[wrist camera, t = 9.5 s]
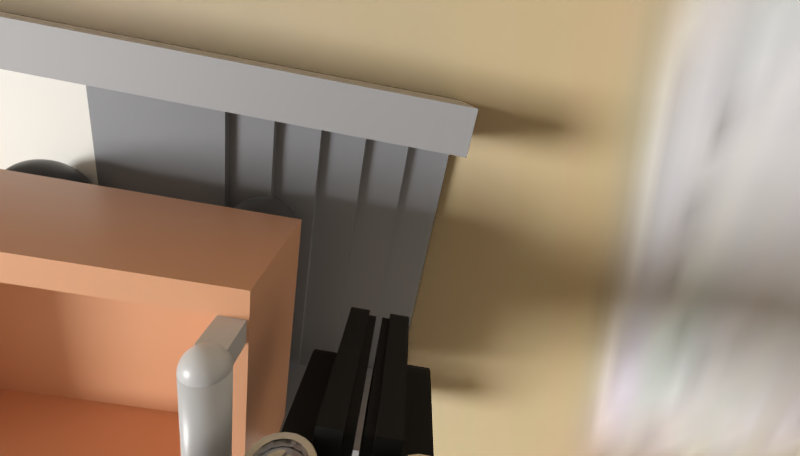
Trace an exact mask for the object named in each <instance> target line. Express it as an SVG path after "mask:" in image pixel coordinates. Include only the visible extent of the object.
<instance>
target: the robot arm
mask: <svg viewBox="0 0 800 456" xmlns="http://www.w3.org/2000/svg"><path fill="white" fill-rule="evenodd" d="M369 314H370V310H367V309H361V308H355V307H351V310H350V313H349V316H348V320H347V323H346V326H345V330H344V333H343V336H342V339H341V343H340V346H339V349H338V353H336V352H330V351H324V350H318V349H315V350H314V351H313V353H312V355H311V358H310V360H309V363H308V365H307V368H306V370H305V373H304V375H303V378H302V380H301V383H300V385H299V388H298V390H297V393H296V395H295V398H294V401H293V403H292V406H291V408H290V411H289V413H288V416H287V418H286V421H285V423H284V426H283V428H282V431H281V433H274V434H271V435H268V436H266V437H263V438H262V439H260V440H259V441H258V442H256V443H255V444H253V445H252V447H251V448H250V449H249V450H248V451H247V452H246V454H245V455H244V456H352V453H353V447H354V442H355V436H356V431H357V425H358V419H359V414H360V408H361V403H362V397H363V392H364V386H365V380H366V374H367V368H368V363H369V357H370V351H371V345H372V340H373V334H374V328H375V322H376V316H372V315H369ZM408 333H409V317H408V316H402V315H396V314H390V318H383V317H382V322H381V328H380V333H379V339H378V344H377V350H376V355H375V361H374V366H373V372H372V378H371V383H370V389H369V395H368V400H367V407H366V413H365V419H364V425H363V431H362V437H361V443H360V450H359V456H434V455H433V430H432V405H431V379H430V369H429V368H424V367H418V366H412V365H407V357H408Z"/></svg>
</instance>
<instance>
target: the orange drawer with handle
mask: <svg viewBox="0 0 800 456" xmlns="http://www.w3.org/2000/svg"><path fill="white" fill-rule="evenodd" d="M301 222H302V220H301V219H297V217H296V215H295V214H294V212H293V211H292V210H291V209H290V208H289V207H288V206H287V205H286V204H285V203H283V202H281V201H279V200H277V199H274V198H270V197H254V198H250V199H247V200H245V201H243V202H241V203H240V204H238V205H237V206H236V207H235V208H230V207H224V206H218V205H212V204H206V203H200V202H194V201H188V200H182V199H176V198H171V197H165V196H159V195H153V194H147V193H141V192H135V191H129V190H123V189H117V188H111V187H105V186H99V185H93V184H90V183H89V182H88V180H87V179H86V178H85V177H84V176H83V175H82V174H81V173H80V172H79V171H78V170H76V169H74V168H73V167H71V166H69V165H67V164H64V163H61V162H58V161H54V160H47V159H33V160H26V161H22V162H19V163H16V164H14V165H12V166H10V167H8V168H7V169H5V170H4V169H0V456H244V455H245V454H246V452H247V451H248V450H249V449H250V448H251V447H252V445H253V444H255V443H256V442H258V441H259V440H260V439H262V438H263V437H266V436H268V435H271V434H274V433H279V431H280V428H281V425H282V423H283V420H284V417H285V407H286V395H287V384H288V372H289V360H290V349H291V337H292V326H293V314H294V303H295V291H296V280H297V268H298V256H299V245H300V233H301Z"/></svg>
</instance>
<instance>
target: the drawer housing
mask: <svg viewBox="0 0 800 456" xmlns="http://www.w3.org/2000/svg"><path fill="white" fill-rule="evenodd" d="M477 113H478V108H476V107H473V106H471V105H469V104H467V103H465V102H463V101H461V100H456V99H451V98H446V97H441V96H435V95H430V94H425V93H420V92H415V91H409V90H404V89H399V88H394V87H389V86H384V85H378V84H373V83H368V82H363V81H358V80H353V79H347V78H342V77H337V76H332V75H327V74H321V73H316V72H311V71H306V70H301V69H296V68H290V67H285V66H280V65H275V64H270V63H264V62H259V61H254V60H249V59H244V58H239V57H233V56H228V55H223V54H218V53H213V52H208V51H202V50H197V49H192V48H187V47H182V46H176V45H171V44H166V43H161V42H156V41H151V40H145V39H140V38H135V37H130V36H125V35H119V34H114V33H109V32H104V31H99V30H94V29H88V28H83V27H78V26H73V25H68V24H62V23H57V22H52V21H47V20H42V19H37V18H31V17H26V16H21V15H16V14H11V13H6V12H0V169H4V170H5V169H7V168H8V167H10V166H12V165H14V164H16V163H19V162H22V161H26V160H33V159H47V160H54V161H58V162H61V163H64V164H67V165H69V166H71V167H73V168H74V169H76V170H78V171H79V172H80V173H81V174H82V175H83V176H84V177H85V178H86V179H87V180H88V182H89V183H90V184H93V185H99V186H105V187H111V188H117V189H123V190H129V191H135V192H141V193H147V194H153V195H159V196H165V197H171V198H176V199H182V200H188V201H194V202H200V203H206V204H212V205H218V206H224V207H230V208H235V207H236V206H237V205H238V204H240V203H241V202H243V201H245V200H247V199H250V198H254V197H270V198H274V199H277V200H279V201H281V202H283V203H285V204H286V205H287V206H288V207H289V208H290V209H291V210H292V211H293V212H294V214H295V215H296V217H297V219H301V220H302V222H301V233H300V245H299V256H298V268H297V280H296V291H295V303H294V314H293V326H292V337H291V349H290V360H289V372H288V384H287V395H286V407H285V417H284V420H283V423H282V425H281V428H280V431H279V433H281V431H282V428H283V426H284V423H285V421H286V418H287V416H288V413H289V411H290V408H291V406H292V403H293V401H294V398H295V395H296V393H297V390H298V388H299V385H300V383H301V380H302V378H303V375H304V373H305V370H306V368H307V365H308V363H309V360H310V358H311V355H312V353H313V351H314V350H315V349H318V350H324V351H330V352H336V353H338V349H339V346H340V343H341V339H342V336H343V333H344V330H345V326H346V323H347V320H348V316H349V313H350V310H351V307H355V308H361V309H367V310H370V314H369V315H372V316H376V322H375V328H374V334H373V340H372V345H371V351H370V357H369V363H368V368H367V374H366V380H365V386H364V392H363V397H362V403H361V408H360V414H359V419H358V425H357V431H356V436H355V442H354V447H353V453H352V456H359V450H360V443H361V437H362V431H363V425H364V419H365V413H366V407H367V400H368V395H369V389H370V383H371V378H372V372H373V366H374V361H375V355H376V350H377V344H378V339H379V333H380V328H381V322H382V317H383V318H390V314H396V315H402V316H408V317H409V328H410V323H411V319H412V315H413V310H414V306H415V301H416V297H417V293H418V288H419V284H420V280H421V275H422V271H423V266H424V262H425V258H426V253H427V249H428V245H429V240H430V236H431V231H432V227H433V223H434V218H435V214H436V209H437V205H438V201H439V196H440V192H441V188H442V183H443V179H444V174H445V170H446V166H447V161H448V157H449V155H455V156H460V157H465V158H467V154H468V150H469V145H470V141H471V137H472V133H473V129H474V125H475V121H476V117H477Z"/></svg>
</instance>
